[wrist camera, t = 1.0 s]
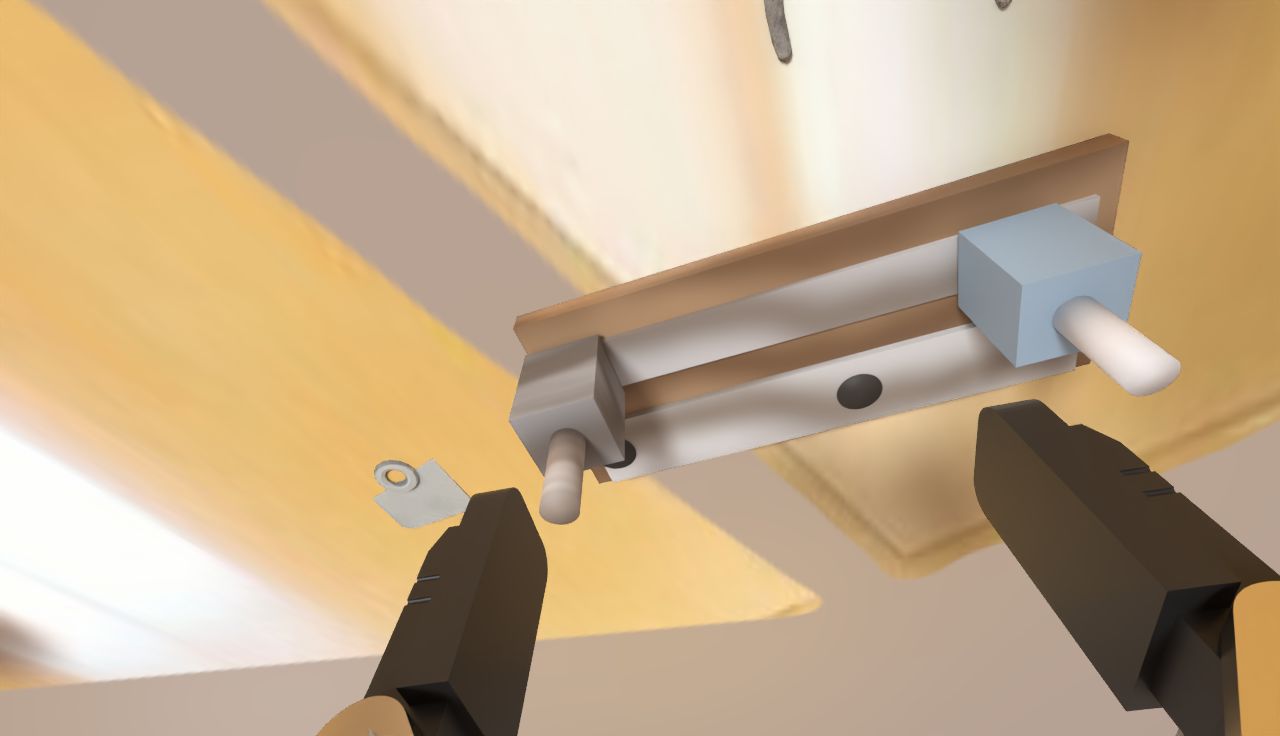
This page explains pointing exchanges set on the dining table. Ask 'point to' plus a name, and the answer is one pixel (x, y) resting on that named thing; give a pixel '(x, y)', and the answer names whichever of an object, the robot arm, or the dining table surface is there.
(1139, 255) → the pointer block
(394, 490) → the mounting bracket
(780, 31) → the pliers
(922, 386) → the board
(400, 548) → the dining table surface
